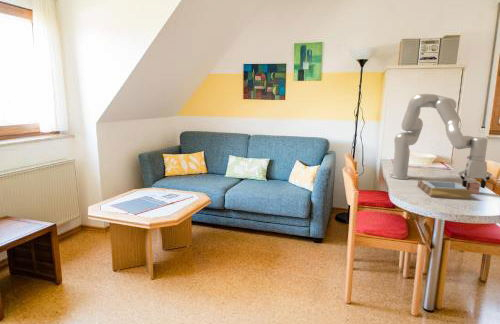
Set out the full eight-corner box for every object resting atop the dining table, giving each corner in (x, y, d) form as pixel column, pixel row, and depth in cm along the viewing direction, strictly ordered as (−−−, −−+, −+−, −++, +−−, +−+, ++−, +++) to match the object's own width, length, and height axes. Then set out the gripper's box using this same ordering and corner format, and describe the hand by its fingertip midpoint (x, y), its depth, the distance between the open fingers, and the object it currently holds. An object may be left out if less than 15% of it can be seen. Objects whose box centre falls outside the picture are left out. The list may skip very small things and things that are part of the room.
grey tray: (425, 187, 196) (425, 181, 195) (454, 189, 193) (455, 182, 192) (433, 194, 183) (434, 187, 182) (465, 196, 180) (466, 188, 179)
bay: (417, 186, 204) (418, 178, 203) (451, 188, 201) (452, 180, 200) (430, 197, 182) (431, 188, 181) (469, 199, 179) (471, 190, 178)
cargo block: (465, 191, 194) (466, 181, 193) (474, 191, 193) (475, 182, 192) (469, 193, 189) (470, 183, 188) (478, 194, 189) (480, 184, 187)
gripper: (463, 159, 185) (460, 188, 188) (497, 160, 182) (493, 189, 185) (457, 157, 192) (454, 184, 196) (490, 158, 189) (486, 186, 193)
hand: (473, 187), depth 190 cm, fingers open, 9 cm apart
